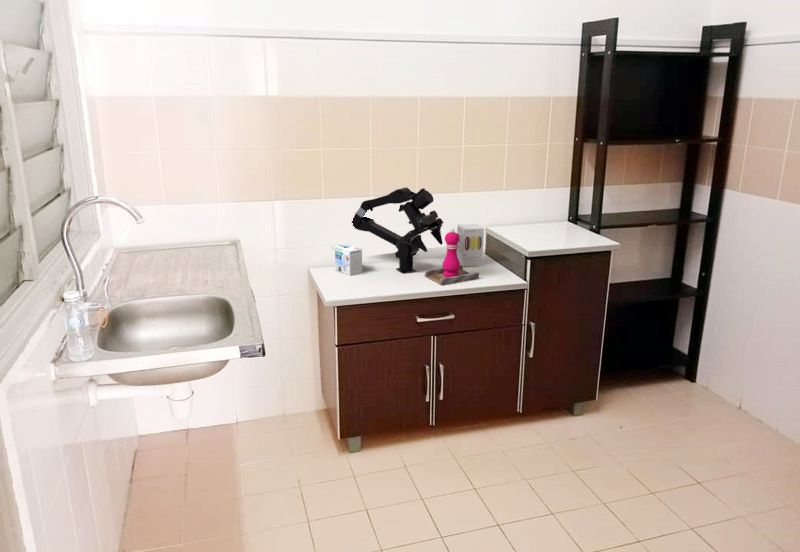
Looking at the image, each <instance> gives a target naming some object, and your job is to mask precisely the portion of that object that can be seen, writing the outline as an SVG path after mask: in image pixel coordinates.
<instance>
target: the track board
mask: <svg viewBox="0 0 800 552" xmlns="http://www.w3.org/2000/svg"><path fill="white" fill-rule="evenodd" d="M444 271H445V270H444V269H443V267H440V268H436V269H430V270H429V269H428V270H425V271H424V277H425V278H427V279H428V280H430V281H432V282H434V283H436V284H437V285H440V286H446V284H447V285H452V284H451V283H453V284H457V282H458V283H463V281H464V282H469V280H470V281H475V280H479V279H480V277H479V276H480V272H472V273H470V272H469V271H466V270H464V266H462V265H460V269H459V270H458V272H459V276H454V277H448V278H446V277H444Z"/></svg>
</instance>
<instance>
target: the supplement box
mask: <svg viewBox="0 0 800 552" xmlns="http://www.w3.org/2000/svg"><path fill="white" fill-rule="evenodd" d="M456 225H457V226H456V228H457V229H456V233H457V234H458V235H459V237H460V240H459V242H458V243H457V244H458V248H457V257H458V259H459V262H460V265H462V266H463V267H474V266H483V265H482V264H483V252H484V251H483V250H484V249H483V248H484V235H485V234H484V233H485V232H484V231H485V228H484V227H483V226H481V225H479V224H477V223H465V224H462V223H461V224H459V223H458V224H456Z"/></svg>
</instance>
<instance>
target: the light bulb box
mask: <svg viewBox="0 0 800 552" xmlns="http://www.w3.org/2000/svg"><path fill="white" fill-rule="evenodd" d="M334 254H335V255H334V256H335V257H334V259H335V262H334V264H335V265H334V268H335V271H337V272H340V273H341V274H343V275H347V276H349V277H350V276H355V275H360V274H363V248H361V247H359V246H355V245H352V244H350V243H343V244H339V245H335V246H334Z"/></svg>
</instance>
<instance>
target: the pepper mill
mask: <svg viewBox="0 0 800 552" xmlns="http://www.w3.org/2000/svg"><path fill="white" fill-rule="evenodd" d="M449 230H450V232H447V233H446V234H445V235H444V241H445V248H446V255H445V258H444V260H443V262H442V268H443V269H444V270H445V271H444V277H446V278H448V277H454V276H459V272H458V270H459V269H460V262H459V259H458V257H457V248H458V244H457V243H458V242H459V240H460V237H459V235H458V234H457V232H456V231H455V228H450V229H449Z"/></svg>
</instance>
